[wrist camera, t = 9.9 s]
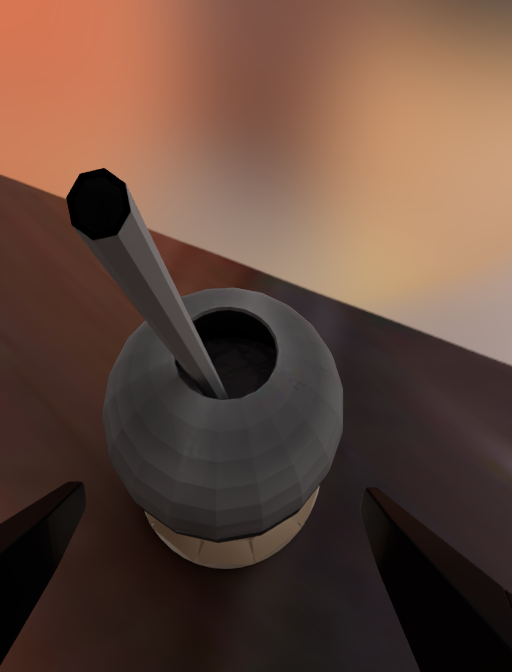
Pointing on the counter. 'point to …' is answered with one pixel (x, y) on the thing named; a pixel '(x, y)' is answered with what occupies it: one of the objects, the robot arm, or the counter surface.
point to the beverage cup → (208, 388)
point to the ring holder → (234, 542)
